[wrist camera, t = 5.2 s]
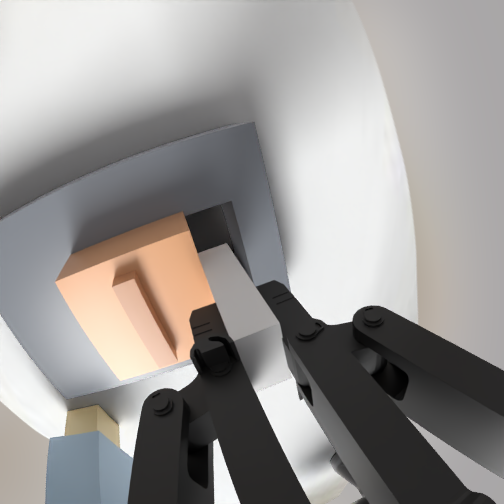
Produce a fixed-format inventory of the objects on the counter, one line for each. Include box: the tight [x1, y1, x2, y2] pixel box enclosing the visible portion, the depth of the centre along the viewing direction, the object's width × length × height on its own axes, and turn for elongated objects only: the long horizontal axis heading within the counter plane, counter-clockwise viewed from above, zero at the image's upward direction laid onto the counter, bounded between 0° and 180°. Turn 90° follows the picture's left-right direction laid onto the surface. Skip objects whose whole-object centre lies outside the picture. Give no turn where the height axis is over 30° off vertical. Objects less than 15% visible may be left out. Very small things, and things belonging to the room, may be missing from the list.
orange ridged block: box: [55, 211, 215, 381], centre depth 13 cm, size 6×6×4 cm
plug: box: [45, 405, 133, 504], centre depth 17 cm, size 6×6×12 cm
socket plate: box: [0, 122, 291, 399], centre depth 17 cm, size 18×13×4 cm
